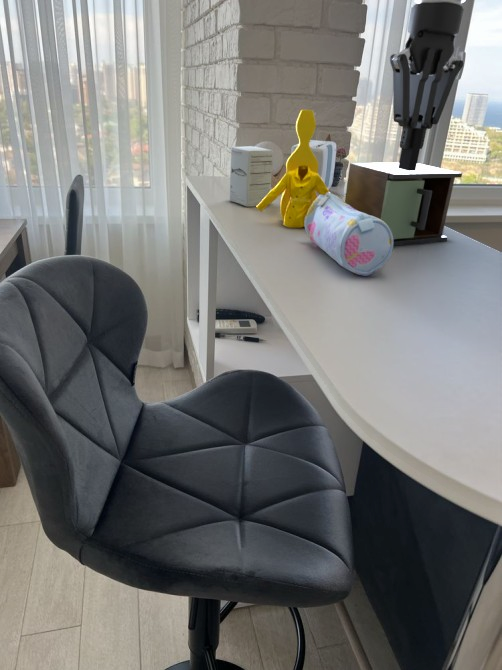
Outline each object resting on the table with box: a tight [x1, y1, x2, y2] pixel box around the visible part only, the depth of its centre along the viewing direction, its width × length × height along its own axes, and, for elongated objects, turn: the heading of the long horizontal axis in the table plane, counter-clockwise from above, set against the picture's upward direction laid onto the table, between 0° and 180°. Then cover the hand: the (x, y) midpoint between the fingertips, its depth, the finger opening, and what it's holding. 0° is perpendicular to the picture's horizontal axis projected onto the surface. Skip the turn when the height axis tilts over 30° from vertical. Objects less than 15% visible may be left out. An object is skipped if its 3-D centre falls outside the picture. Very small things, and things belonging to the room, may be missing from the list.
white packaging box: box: [228, 145, 274, 208], centre depth 120 cm, size 7×7×13 cm
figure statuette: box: [255, 109, 331, 229], centre depth 101 cm, size 18×8×22 cm, turn 89°
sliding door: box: [381, 180, 432, 239], centre depth 91 cm, size 4×8×11 cm, turn 114°
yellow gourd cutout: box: [290, 112, 337, 198], centre depth 131 cm, size 21×8×20 cm, turn 162°
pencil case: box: [304, 191, 394, 277], centre depth 84 cm, size 21×9×10 cm, turn 11°
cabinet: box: [344, 162, 463, 247], centre depth 99 cm, size 14×16×13 cm
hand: (406, 169), depth 85 cm, fingers closed
